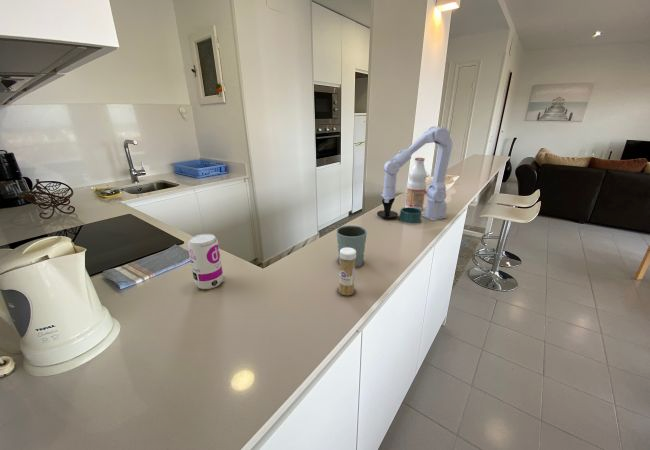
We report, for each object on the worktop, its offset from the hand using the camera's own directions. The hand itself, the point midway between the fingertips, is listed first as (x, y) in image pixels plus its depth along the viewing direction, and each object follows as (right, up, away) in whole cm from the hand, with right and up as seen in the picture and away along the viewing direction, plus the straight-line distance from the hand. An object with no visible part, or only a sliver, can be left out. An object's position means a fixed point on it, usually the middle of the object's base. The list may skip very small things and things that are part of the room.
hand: (387, 212), depth 140 cm
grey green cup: (-23, -19, -42) cm, 51 cm away
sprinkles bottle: (-25, -26, -58) cm, 69 cm away
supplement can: (-67, -24, -54) cm, 90 cm away
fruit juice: (+18, +3, +15) cm, 24 cm away
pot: (+11, -4, -2) cm, 12 cm away
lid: (0, -1, 0) cm, 1 cm away
